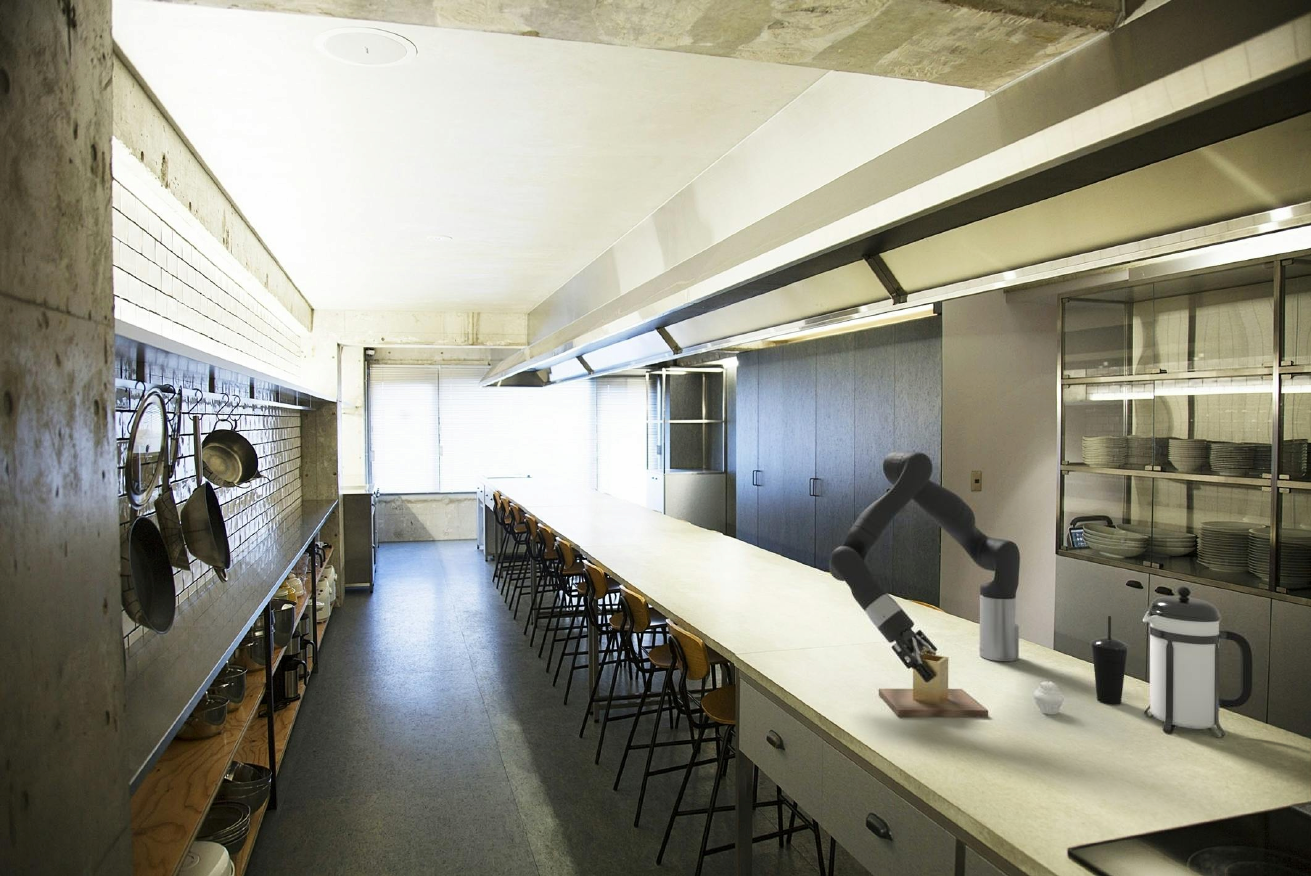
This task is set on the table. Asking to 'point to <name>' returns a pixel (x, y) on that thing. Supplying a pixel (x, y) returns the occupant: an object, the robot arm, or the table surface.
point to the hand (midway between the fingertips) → (937, 675)
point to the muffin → (1048, 698)
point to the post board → (952, 707)
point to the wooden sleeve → (932, 680)
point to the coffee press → (1190, 663)
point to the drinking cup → (1109, 667)
